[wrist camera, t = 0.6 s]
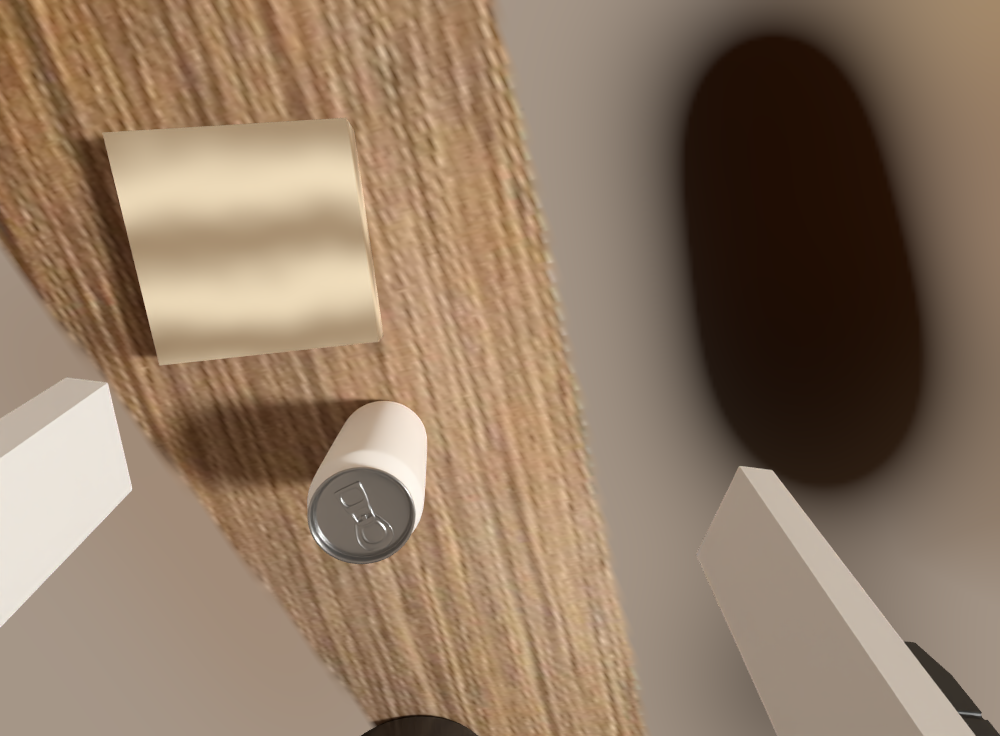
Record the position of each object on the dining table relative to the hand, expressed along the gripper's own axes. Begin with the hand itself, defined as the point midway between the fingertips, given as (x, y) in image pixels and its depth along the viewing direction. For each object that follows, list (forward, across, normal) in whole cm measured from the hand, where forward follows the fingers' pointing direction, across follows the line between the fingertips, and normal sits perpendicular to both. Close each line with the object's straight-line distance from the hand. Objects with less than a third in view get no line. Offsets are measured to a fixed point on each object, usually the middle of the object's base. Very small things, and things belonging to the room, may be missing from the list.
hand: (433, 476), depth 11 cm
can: (+23, +5, +16) cm, 29 cm away
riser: (+26, +14, +4) cm, 30 cm away
